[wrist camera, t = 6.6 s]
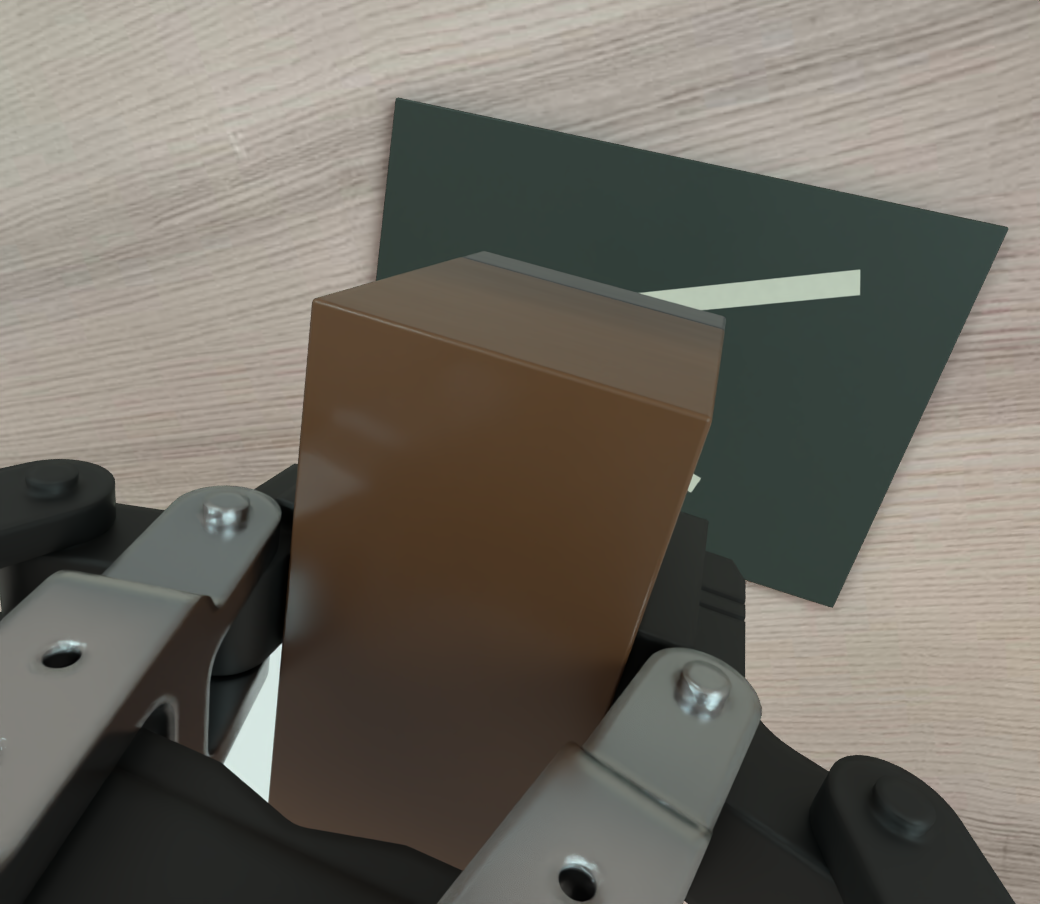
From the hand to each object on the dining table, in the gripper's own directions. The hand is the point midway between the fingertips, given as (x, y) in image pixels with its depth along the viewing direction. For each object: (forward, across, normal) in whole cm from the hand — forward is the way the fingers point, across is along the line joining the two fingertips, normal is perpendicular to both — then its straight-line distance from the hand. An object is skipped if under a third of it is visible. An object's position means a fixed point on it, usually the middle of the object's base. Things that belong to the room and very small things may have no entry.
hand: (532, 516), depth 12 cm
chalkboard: (+15, 0, +1) cm, 15 cm away
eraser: (+1, 0, 0) cm, 1 cm away
